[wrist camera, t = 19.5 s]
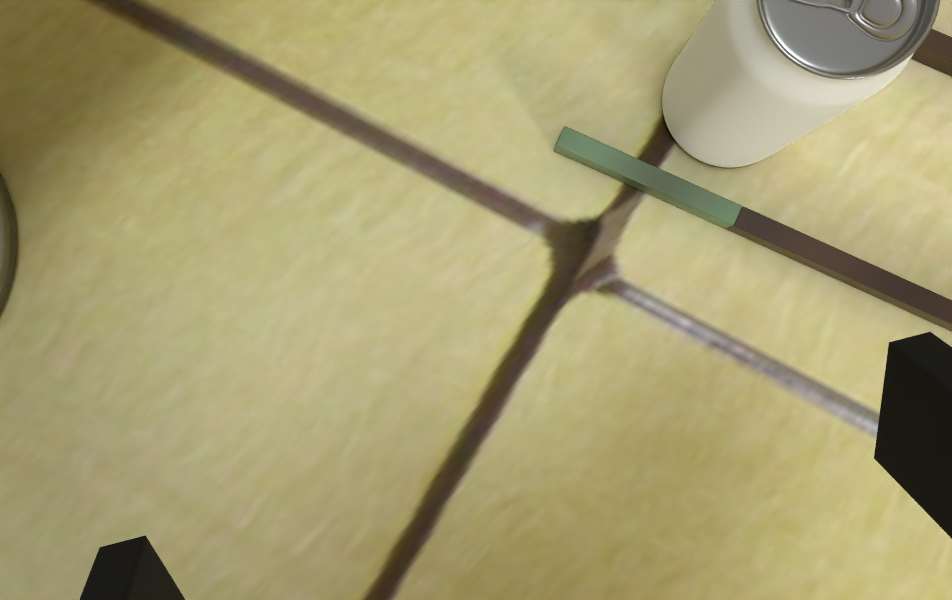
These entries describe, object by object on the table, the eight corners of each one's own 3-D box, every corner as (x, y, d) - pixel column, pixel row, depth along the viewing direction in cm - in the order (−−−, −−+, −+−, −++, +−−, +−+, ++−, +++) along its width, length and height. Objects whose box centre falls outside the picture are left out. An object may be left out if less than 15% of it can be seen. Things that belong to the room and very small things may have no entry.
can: (768, 189, 34) (912, 122, 22) (639, 142, 34) (712, 51, 22) (816, 62, 34) (987, -75, 22) (687, 17, 34) (786, -144, 22)
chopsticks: (553, 150, 34) (555, 145, 33) (658, -74, 34) (664, -88, 33) (1022, 363, 33) (1041, 364, 32) (1129, 130, 33) (1153, 123, 32)
